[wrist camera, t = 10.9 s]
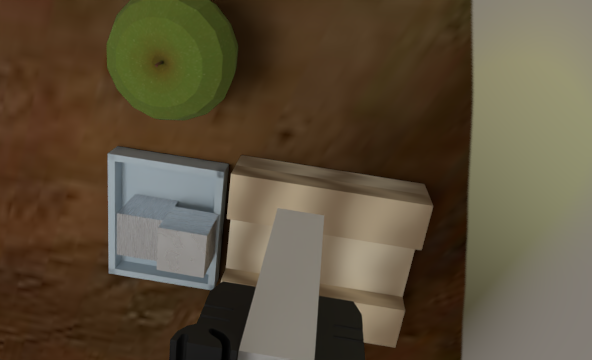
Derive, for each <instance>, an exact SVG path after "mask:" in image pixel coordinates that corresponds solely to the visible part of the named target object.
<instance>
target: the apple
mask: <svg viewBox="0 0 592 360" xmlns="http://www.w3.org/2000/svg"><path fill="white" fill-rule="evenodd" d="M237 56H238V43H237V41H236V38H235V35H234V32H233V29H232V26H231V23H230V22H229V21H228V19H227V18H226V17H225V15H224V14H223V13H222V11H221V10H220V9H219V7H218V6H217V5H216V4H215V3H213V2H211V1H210V0H130V1H129V2H128V3H127V4H126V5H125V7H124V8H123V9H122V10H121V11H120V12H119V13H118V14H117V16H116V19H115V22H114V25H113V28H112V30H111V33H110V36H109V39H108V42H107V68H108V70H109V73H110V75H111V77H112V79H113V81H114V83H115V86H116V88H117V90H118V91H119V92H120V93H121V94H122V95H123V96H124V97H125V99H126V100H127V101H128V102H129V103H130V104H131V105H132V106H133V107H134V108H136V109H138V110H139V111H141V112H143V113H145V114H147V115H149V116H151V117H152V118H155V119H160V120H187V119H191V118H194V117H198V116H201V115H205V114H207V113H208V112H210V111H211V110H212V109H213V108H214V107H215V106H216V105H218V104H219V103H220V102H221V101H222V100H223V99H224V98H225V96H226V94H227V91H228V89H229V87H230V84H231V82H232V80H233V77H234V74H235V71H236V66H237Z"/></svg>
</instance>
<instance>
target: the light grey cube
mask: <svg viewBox="0 0 592 360" xmlns="http://www.w3.org/2000/svg"><path fill="white" fill-rule="evenodd" d="M218 219H219V214H216V213H210V212H204V211H198V210H192V209H186V208H180V207H173V209H172V210H171V211H170V212H169V214H168V215H167V216H166V218H165V219H164V220H163V222H162V223H161V224H160V225H159V227H158V241H157V270H161V271H166V272H172V273H178V274H184V275H189V276H195V277H201V278H204V276H205V274H206V272H207V270H208V268H209V266H210V264H211V262H212V260H213V258H214V256H215V254H216V242H217V231H218Z"/></svg>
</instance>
